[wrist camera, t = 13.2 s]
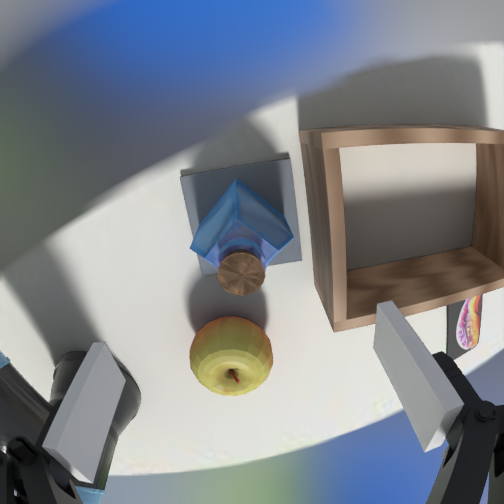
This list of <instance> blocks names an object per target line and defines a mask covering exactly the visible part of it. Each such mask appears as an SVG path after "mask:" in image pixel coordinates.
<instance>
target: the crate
mask: <svg viewBox="0 0 504 504" xmlns="http://www.w3.org/2000/svg"><path fill="white" fill-rule="evenodd" d="M299 136H300V144H301V151H302V159H303V167H304V176H305V184H306V193H307V202H308V212H309V222H310V233H311V244H312V257H313V270H314V284H315V287H316V290H317V292H318V295H319V297H320V299H321V302H322V304H323V307H324V309H325V312H326V314H327V317H328V319H329V322H330V324H331V327H332V329H333V332H339V331H344V330H349V329H354V328H358V327H363V326H368V325H372V324H376V313H377V304H378V303H383V302H387V301H391V300H392V301H393V303H394V304H395V305H396V307H397V308H398V309H399V311H400V312H401V313H402V315H403V316H404V317H405V316H409V315H413V314H417V313H421V312H424V311H428V310H432V309H435V308H439V307H442V306H446V305H449V304H453V303H456V302H459V301H462V300H466V299H469V298H472V297H475V296H478V295H481V294H484V293H487V292H490V291H493V290H496V289H499V288H502V287H504V130H500V129H493V128H487V127H478V126H462V125H438V124H387V125H361V126H345V127H331V128H319V129H309V130H299ZM406 143H476V149H477V181H476V203H475V217H474V228H473V237H472V245H471V246H470V247H465V248H461V249H456V250H451V251H446V252H442V253H437V254H432V255H427V256H422V257H417V258H412V259H406V260H401V261H396V262H391V263H385V264H380V265H375V266H369V267H364V268H358V269H352V270H347V271H346V238H345V218H344V201H343V188H342V175H341V164H340V154H339V148H342V147H354V146H367V145H384V144H406Z"/></svg>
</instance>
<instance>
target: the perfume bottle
mask: <svg viewBox="0 0 504 504" xmlns="http://www.w3.org/2000/svg"><path fill="white" fill-rule="evenodd" d="M293 237H294V236H293V234H292V232H291V229H290V227H289V225H288V223H287V220H286V218H285V216H284V215H283V214H282V213H281V212H279V211H278V210H277V209H276V208H274V207H273V206H272V205H271V204H269V203H268V202H267V201H265V200H264V199H263V198H262V197H260V196H259V195H258V194H257V193H255V192H254V191H253V190H251V189H250V188H249V187H248V186H246V185H245V184H244V183H242V182H241V181H240V180H239V179H237V178H236V179H235V180H234V182H233V183H232V184H231V185H230V187H229V188H228V189H227V190H226V192H225V193H224V194H223V195H222V197H221V198H220V199H219V200H218V202H217V203H216V204H215V205H214V207H213V208H212V209H211V211H210V212H209V213H208V214H207V216H206V217H205V218H204V220H203V221H202V222H201V223H200V225H199V227H198V229H197V232H196V234H195V237H194V239H193V242H192V244H191V246H190V249H192V250H193V251H194V252H196V253H197V254H199V255H200V256H201V257H203V258H204V259H206V260H207V261H209V262H210V263H211V264H213V265H214V266H216V267H217V277H218V281H219V283H220V285H221V287H222V288H224V289H225V290H226V291H227V292H229V293H231V294H234V295H239V296H242V295H249V294H251V293H254V292H255V291H256V290H258V289H259V288H260V287H261V285H262V284H263V282H264V279H265V270H266V267H267V266H268V265H269V264H270V263H271V262H272V261H273V260H274V258H275V257H276V256H277V255H278V254H279V253H280V252H281V251H282V250H283V248H284V247H285V246H286V245H287V244H288V243H289V242H290V241H291V240H292V238H293Z"/></svg>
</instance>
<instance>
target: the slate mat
mask: <svg viewBox="0 0 504 504" xmlns="http://www.w3.org/2000/svg"><path fill="white" fill-rule="evenodd" d="M236 178H237V179H239V180H240V181H241V182H242V183H244V184H245V185H246V186H248V187H249V188H250V189H251V190H253V191H254V192H255V193H257V194H258V195H259V196H260V197H262V198H263V199H264V200H265V201H267V202H268V203H269V204H271V205H272V206H273V207H274V208H276V209H277V210H278V211H279V212H281V213H282V214H283V215H284V216H285V218H286V220H287V223H288V225H289V227H290V229H291V232H292V234H293V236H294V237H293V238H292V240H291V241H290V242H289V243H288V244H287V245H286V246H285V247H284V248H283V250H282V251H281V252H280V253H279V254H278V255H277V256H276V257H275V258H274V260H273V261H272V262H271V263H270V264H269V265H268V266H270V265H277V264H283V263H289V262H296V261H302V255H301V245H300V236H299V226H298V217H297V208H296V200H295V191H294V183H293V175H292V168H291V160H290V158H289V159H281V160H274V161H267V162H260V163H253V164H247V165H241V166H235V167H229V168H223V169H217V170H212V171H206V172H201V173H196V174H191V175H186V176H181V177H180V181H181V186H182V190H183V195H184V200H185V204H186V209H187V213H188V217H189V222H190V226H191V231H192V235H193V239H194V237H195V234H196V232H197V229H198V227H199V225H200V223H201V222H202V221H203V220H204V218H205V217H206V216H207V214H208V213H209V212H210V211H211V209H212V208H213V207H214V205H215V204H216V203H217V202H218V200H219V199H220V198H221V197H222V195H223V194H224V193H225V192H226V190H227V189H228V188H229V187H230V185H231V184H232V183H233V182H234V180H235V179H236ZM197 256H198V260H199V264H200V268H201V272H202V276H204V275H210V274H217V267H216V266H214V265H213V264H211V263H210V262H209V261H207V260H206V259H204V258H203V257H201V256H200V255H199V254H197Z"/></svg>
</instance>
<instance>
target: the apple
mask: <svg viewBox="0 0 504 504" xmlns="http://www.w3.org/2000/svg"><path fill="white" fill-rule="evenodd" d="M190 365H191V369H192V371H193V373H194V375H195V376H196V378H197V379H198V381H199V382H200V383H201V384H202V385H203V386H205V387H206V388H208V389H209V390H211V391H212V392H215V393H218V394H221V395H228V396H237V395H242V394H246V393H248V392H250V391H252V390H255V389H256V388H258V387H259V386H260V385H261V384H262V383H263V382H264V381H265V380H266V378H267V377H268V375H269V373H270V370H271V367H272V365H273V355H272V348H271V343H270V340H269V338H268V337H267V335H266V334H265V332H264V331H263V329H261V328H260V327H259V326H257V325H256V324H254V323H253V322H251V321H250V320H248V319H245V318H240V317H236V316H229V317H220V318H218V319H215V320H213V321H210V322H209V323H207V324H206V325H205V326H204V327H203V328H201V329H200V330H199V331H198V332H197V333H196V335H195V337H194V340H193V342H192V345H191V348H190Z"/></svg>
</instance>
